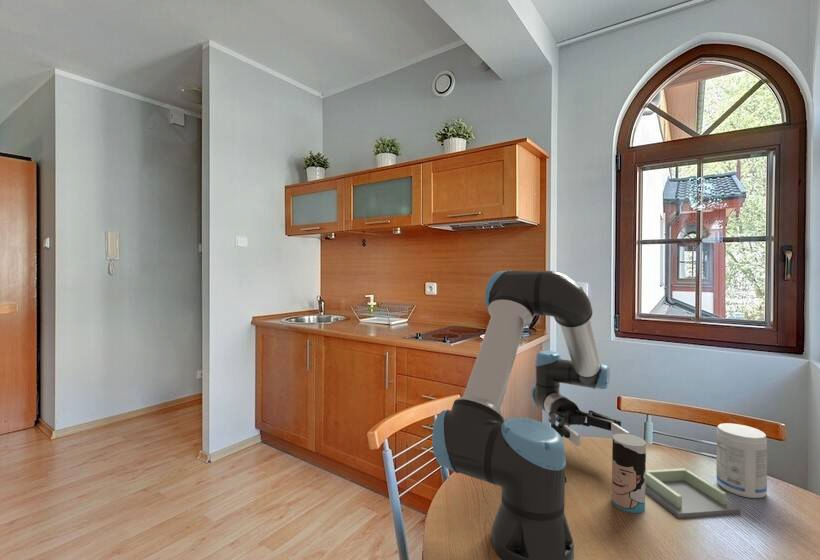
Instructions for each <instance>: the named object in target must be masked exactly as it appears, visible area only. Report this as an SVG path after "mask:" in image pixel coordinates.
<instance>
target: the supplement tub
mask: <svg viewBox="0 0 820 560" xmlns="http://www.w3.org/2000/svg"><path fill="white" fill-rule="evenodd" d="M716 427H717V430H716V482H717V484H718V485H719V486H720V487H721V488H722V489H724V490H725V491H728V492H730V493H731V494H733V495H737V496H740V497H743V498H744V497H745V498H749V499H759V498H763V497H766V495H767V494H768V493H767V492H768V491H767V490H768V440H767V435H766V433H765V432H764V431H761V430H760V429H758V428H755V427H752V426H749V425H744V424H739V423H730V422H728V423H727V422H725V423H719V424H718V425H717V426H716Z"/></svg>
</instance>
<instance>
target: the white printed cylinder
mask: <svg viewBox="0 0 820 560" xmlns="http://www.w3.org/2000/svg"><path fill="white" fill-rule="evenodd" d="M611 454H612V457H611V458H612V461H611V503H612V504H613V506H615V507H616V508H618V509H619V510H621V511H624V512H627V513H631V514H641V513H643V512H644V511H645V510H646V492H645V474H646V469H647V468H646V465H647V463H646V462H647V441H646V440H645V439H644V438H642V437H639V436H638V435H634V434H615V435H614V434H612V453H611Z"/></svg>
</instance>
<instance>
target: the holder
mask: <svg viewBox="0 0 820 560" xmlns="http://www.w3.org/2000/svg"><path fill="white" fill-rule="evenodd" d="M645 494H647V495H648V496H650V497H651V498H652V499H653V500H654V501H656V502H657V503H658V504H660V505H661V506H663V507H664V508H665V509H666V510H667V511H669V512H670V513H671V514H673V515H674V516H675V517H677V518H678V519H684V518H685V519H686V518H687V519H688V518H699V517H711V516H713V517H715V516H725V515H728V516H729V515H740V514H741V508H739V507H738V506H737V505H734V504H733V503H732V502H731V501H728V500H727V493H726V492H725V491H723V490H722V489H720V488H718V487H717V486H715V485H714V484H712V483H710V482H709V481H707V480H705V479H704V478H702V477H700V475H697V474H696V473H694V472H692V471H691V470H689V469H687V468H686V467H683V468H681V467H679V468H665V469H664V468H663V469H647V470H646V474H645Z"/></svg>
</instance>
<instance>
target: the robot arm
mask: <svg viewBox="0 0 820 560" xmlns="http://www.w3.org/2000/svg"><path fill="white" fill-rule="evenodd" d="M484 291H485V294H484V303H485V306H486V309H487V312H488V314H489V315H490V319H489V321H488V324H487V327H486V331H485V332H484V336H483V339H482V341H481V345H480V348H479V351H478V353H477V356H476V358H475V362H474V364H473V367H472V370H471V373H470V375H469V378H468V380H467V384H466V387H465V390H464V393H463V396H460V397H457V398H456V399H455V400H454V401H453V404H452V406H451V408H450V409H444V410H441V411H440V413H438V415H437V416H436V419H435V421H434V424H433V428H432V434H431V436H432V437H431V444H432V451H433V455H434V458H435V459H436V462H437V463H438V464H439V465H440V466H442V467H444V468H446V469H448V470H451V471H452V472H454V473H456V474H462V475H465V476H468V477H471V478H475V479H478V480H480V481H484V482H487V483H489V484H492V485H495V486H498V487H500V488H501V498H500V499H501V501H500V504H499V506H498V509H497V513H496V516H495V518H494V521H493V524H492V528H491V543H492V547H493V549H494V551H495V553H496V554H497V555H498V557H500V558H501V560H575V559H574V558H575V544H574V539H573V537H572V532H571V529H570V527H569V523H568V519H567V517H566V513H565V498H566V497H565V496H566V494H565V493H566V492H565V489H566V483H565V477H566V466H567V459H566V454H565V453H566V451H565V449H566V448H565V441H564V440H563V437H564V438H565V439H567V440H569V441H570V442H571V443H573V444H574V445H575V446H576V447H580V443H581V442H580V441H581V440H580V434H579V433H578V432H576V431H575V430H574V429H572V428H571V427H570V426H574V425H575V426H577V425H578V426H580V425H581V426H583V427H595V428H599V429H604V430H607V431H610V433H611V434H612V435H615V434H630V432H629V431H628V430H626V429H625V428H623V427H622V421H621V420H619V419H616V418H614V417H611V416H608V415H605V414H601V413H598V412H595V411H594V410H588V412H584V411H582V410H580V408H579V406H578V404H577V403H575V402H574V401H572V400H570V399H569V398H568V397H566V396H564V395H563V394H561V393H560V388H561V387H560V385H561V384H565V385H571V386H572V385H573V386H578V387H584V388H590V389H593V390H594V389H595V390H596V389H598V390H607V389H609V385H610V381H611V380H610V379H611V378H610V377H611V370H610V367H609V366H608V365H606V364H602V363H600V359H599V355H598V350H597V345H596V341H595V336H594V332H593V327H592V322H591V319H592V317H593V307H592V303H591V300H590V298H589V296H588V295H587V294H586V292H585V291H584V290H583V288H582V287H581V286H580V285H579V284H578V283H577V282H576V281H575V280H574V279H572V278H570V277H569V276H567V275H566V274H563V273H561V272H558V271H554V270H513V269H512V270H511V269H510V270H509V269H508V270H501V271H497V272H494V273H493V274H492V275H491V276H490V277H489V280H488V281H487V283H486V287H485V289H484ZM534 316H544V317H545V316H549V317H552V318H554V321H555V322H556V323H557V324H558V325H559V326H560V328H561V331H562V334H563V337H564V342H565V344H566V347H567V350H568V354H569V356H570V360H569V359H562V358H561V354H560V353H559V352H557V351H553V350H541V351H538V352H537V353H536V359H535V385H534V386H533V387H532V389H531V391H530V397H531V400H532V402H533V403H534V404H535V405H536V406H537V407H538V408H539V409H541V410H543V411H544V412H545V413H546V414H547V415H548V422H549V423H550V425H549V424H546V423H544V422H541V421H539V420H535V419H533V418H530V417H518V416H515V417H514V416H513V417H508V418H506V419H505V418H504V416H503V414H502V411H501V408H502V404H503V401H504V398H505V394H506V389H507V387H508V383H509V380H510V376H511V373H512V371H513V370H512V369H513V366H514V363H515V359H516V356H517V352H518V349H519V346H520V342H521V338H522V335H523V332H524V328H526V327H528V326H530V325H531V324H532V322H533V319H534ZM557 422H558V425H556V423H557ZM630 435H631V434H630Z"/></svg>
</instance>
